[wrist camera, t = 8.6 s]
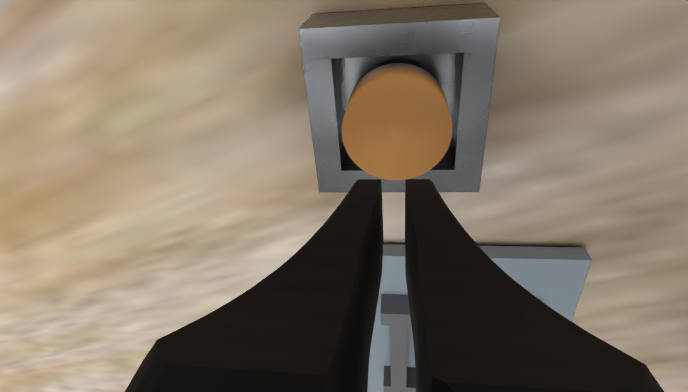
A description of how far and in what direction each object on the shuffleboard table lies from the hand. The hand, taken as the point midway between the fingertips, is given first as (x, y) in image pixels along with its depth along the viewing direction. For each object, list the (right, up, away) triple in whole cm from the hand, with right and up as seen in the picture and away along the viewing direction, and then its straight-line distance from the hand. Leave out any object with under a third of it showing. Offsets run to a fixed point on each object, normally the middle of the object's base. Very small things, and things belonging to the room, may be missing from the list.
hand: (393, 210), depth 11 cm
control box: (+1, +5, +8) cm, 9 cm away
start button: (+1, +4, +6) cm, 7 cm away
